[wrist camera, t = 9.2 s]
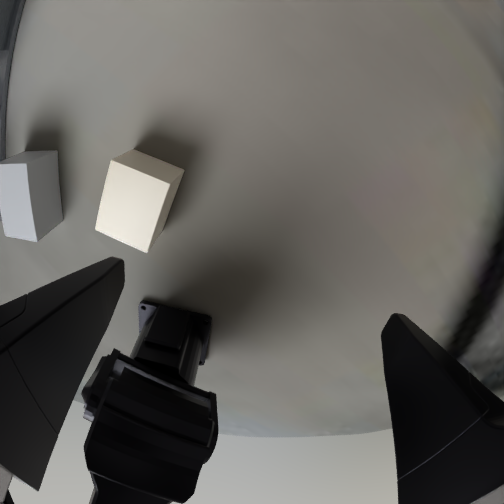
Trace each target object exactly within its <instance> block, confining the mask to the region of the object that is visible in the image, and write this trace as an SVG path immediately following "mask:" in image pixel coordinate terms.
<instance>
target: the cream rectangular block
mask: <svg viewBox="0 0 504 504" xmlns="http://www.w3.org/2000/svg"><path fill="white" fill-rule="evenodd" d="M184 171H185V170H184V169H181V168H179V167H176V166H174V165H172V164H169V163H167V162H164V161H162V160H159V159H157V158H154V157H152V156H149V155H147V154H144V153H142V152H139V151H137V150H134V149H133V150H131V151H129V152H126V153H124V154H122V155H120V156H118V157H116V158H114V159H112V160H111V163H110V166H109V170H108V174H107V178H106V182H105V186H104V190H103V194H102V199H101V203H100V208H99V212H98V217H97V222H96V228H95V230H97V231H99V232H101V233H103V234H106V235H108V236H110V237H112V238H114V239H116V240H119V241H121V242H123V243H125V244H127V245H130V246H132V247H134V248H136V249H139V250H141V251H143V252H145V253H148V251H149V250H150V248H151V247H152V245H153V244H154V242H155V241H156V239H157V238H158V237H159V235H160V234H161V232H162V231H163V228H164V225H165V222H166V219H167V216H168V213H169V211H170V208H171V205H172V202H173V200H174V197H175V194H176V192H177V189H178V186H179V184H180V181H181V178H182V176H183V173H184Z"/></svg>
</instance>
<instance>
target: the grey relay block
mask: <svg viewBox="0 0 504 504" xmlns="http://www.w3.org/2000/svg"><path fill="white" fill-rule="evenodd" d="M0 212H1V217H2V222H3V227H4V232H5V236H8V237H13V238H19V239H24V240H29V241H35V242H38V241H39V240H40V239H42V238H43V237H44V236H45V235H46V234H48V233H49V232H50V231H51V230H52V229H54V228H55V227H56V226H57V225H59V224H60V223H61V222H62V221H63V214H62V205H61V196H60V185H59V171H58V150H56V151H24V152H22V153H19V154H17V155H14V156H12V157H10V158H7V159H5V160H3V161H0Z"/></svg>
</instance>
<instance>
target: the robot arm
mask: <svg viewBox="0 0 504 504" xmlns="http://www.w3.org/2000/svg"><path fill="white" fill-rule="evenodd" d="M124 283H125V272H124V261H123V259H121V258H117V257H109V258H107V259H104V260H102V261H100V262H97V263H95V264H92V265H90V266H88V267H85V268H83V269H81V270H79V271H76V272H74V273H72V274H69V275H67V276H65V277H63V278H60V279H58V280H56V281H54V282H51V283H49V284H47V285H45V286H42V287H40V288H38V289H36V290H34V291H32V292H29V293H28V295H27V294H25V295H23V296H21V297H19V298H17V299H14V300H12V301H10V302H8V303H6V304H3V305H1V306H0V504H14V502H13V500H12V498H11V495H10V493H9V490H8V488H9V485H10V482H11V480H12V477H14V478H16V479H18V480H19V481H21V482H22V483H24V484H26V485H27V486H29V487H31V488H33V489H35V490H36V491H39V489H40V486H41V483H42V480H43V477H44V474H45V471H46V468H47V465H48V462H49V459H50V456H51V453H52V451H53V449H54V446H55V443H56V441H57V438H58V434H59V432H60V430H61V427H62V425H63V422H64V420H65V417H66V415H67V413H68V410H69V408H70V406H71V403H72V401H73V399H74V396H75V394H76V392H77V390H78V387H79V385H80V383H81V381H82V379H83V377H84V374H85V372H86V370H87V368H88V366H89V364H90V362H91V360H92V358H93V356H94V353H95V351H96V349H97V347H98V345H99V343H100V341H101V339H102V337H103V335H104V334H105V332H106V330H107V327H108V325H109V323H110V321H111V318H112V315H113V313H114V310H115V308H116V305H117V302H118V300H119V297H120V295H121V292H122V290H123V287H124ZM144 306H145V307H144ZM138 309H139V333H140V334H139V337H138V339H137V341H136V343H135V346H134V348H133V350H132V353H131V355H130V357H128V356H126V355H124V354H122V353H120V351H118V350H117V349H115V348H114V349H113V351H112V353H111V355H109V354H108V355H107V356H104V357H102V358H101V360H100V362H99V364H98V366H97V368H96V369H95V371H94V373H93V374H92V376H91V377H90V379H89V380H88V382H87V383H86V385H85V386H84V388H83V390H82V393H81V395H82V397H83V399H84V402H85V405H84V408H85V412H84V416H83V418H85V419H86V420H88V421H91V422H92V424H91V427H90V430H89V432H88V435H87V438H86V441H85V444H84V452H85V459H86V464H87V468H88V471H90V474H91V478H92V481H93V484H94V490H93V493H92V496H91V499H90V502H89V504H170V503H171V502H173V501H174V502H177V503H181V504H183V503H185V502H186V501H187V500H188V499H189V498H190V497H191V496H192V495H193V494H194V491H195V488H196V484H197V480H198V476H199V473H200V470H201V468H202V465H203V464H205V463H206V462H207V461H208V460H209V458H210V457H211V455H212V453H213V451H214V449H215V446H216V442H217V437H218V416H217V401H216V394H215V393H212V392H207V391H204V390H202V389H199V388H197V387H194V383H195V379H196V374H197V369H198V365H204V363H205V358H206V352H207V346H208V340H209V335H210V329H211V323H212V318H211V317H210V316H208V315H204V314H199V313H195V312H190V311H186V310H181V309H177V308H173V307H168V306H164V305H160V304H156V303H152V302H148V301H141V302H140V304H139V306H138ZM204 320H206V321H208V322H206V321H204ZM381 341H382V352H383V364H384V374H385V381H386V387H387V393H388V399H389V406H390V413H391V421H392V428H393V437H394V446H395V454H396V455H395V456H396V468H397V480H398V481H397V484H398V504H504V402H503V401H502V400H501V399H500V398H499V397H497V396H496V395H495V394H494V393H493V392H491V391H490V390H489V389H488V388H487V387H486V386H484V385H483V384H482V383H481V382H480V381H479V380H478V379H477V378H476V377H474V376H473V375H472V374H471V373H470V372H469V371H468V370H467V369H466V368H465V367H463V366H462V365H461V364H460V363H459V362H458V361H457V360H456V359H455V358H454V357H452V356H451V355H450V354H449V353H448V352H447V351H446V350H445V349H443V348H442V347H441V346H440V345H439V344H438V343H437V342H435V341H434V340H433V339H432V338H431V337H430V336H429V335H427V334H426V333H425V332H424V331H423V330H422V329H420V328H419V327H418V326H417V325H416V324H415V323H413V322H412V321H411V320H410V319H409V318H408V317H406V316H405V315H403V314H398V313H394V314H392V315H391V317H390V318H389V320H388V322H387V323H386V325H385V327H384V328H383V330H382V333H381Z"/></svg>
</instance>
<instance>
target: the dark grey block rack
mask: <svg viewBox="0 0 504 504" xmlns="http://www.w3.org/2000/svg"><path fill="white" fill-rule="evenodd" d="M24 3H25V0H0V161H3V160H5V119H6V102H7V91H8V82H9V74H10V67H11V60H12V54H13V49H14V44H15V39H16V34H17V30H18V26H19V22H20V18H21V14H22V10H23V7H24ZM0 221H2V217H1V212H0Z"/></svg>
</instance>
